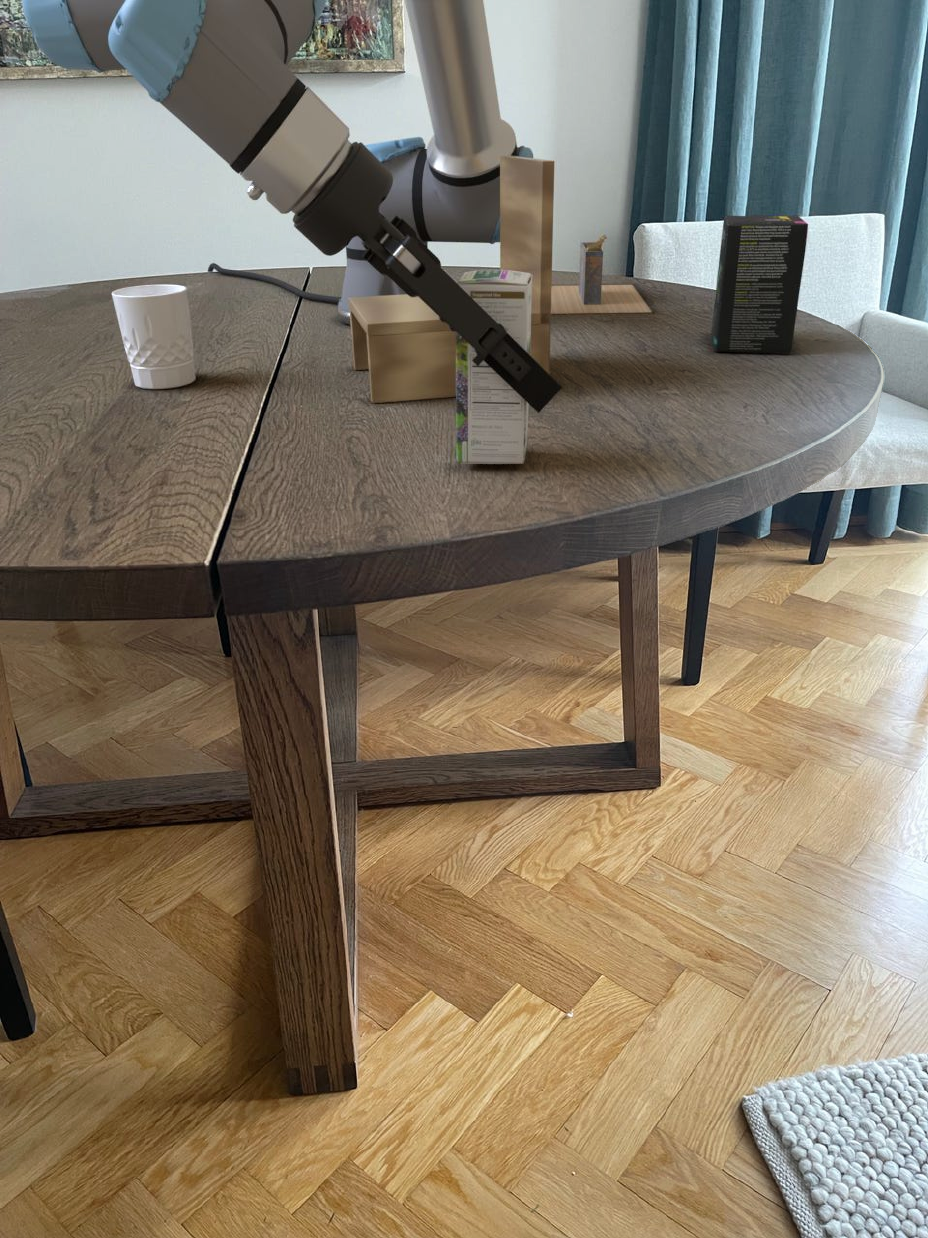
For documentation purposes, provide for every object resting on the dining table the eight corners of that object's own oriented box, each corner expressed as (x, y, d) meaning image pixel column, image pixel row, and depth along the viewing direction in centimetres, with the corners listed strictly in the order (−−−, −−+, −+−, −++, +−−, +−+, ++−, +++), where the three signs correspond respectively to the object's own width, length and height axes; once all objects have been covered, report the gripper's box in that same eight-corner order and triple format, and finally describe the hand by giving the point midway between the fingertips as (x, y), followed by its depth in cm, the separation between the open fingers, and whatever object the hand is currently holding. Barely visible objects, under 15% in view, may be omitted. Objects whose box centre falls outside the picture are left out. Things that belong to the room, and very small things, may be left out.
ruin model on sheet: (652, 312, 136) (657, 241, 132) (540, 313, 137) (541, 243, 133) (632, 284, 158) (636, 222, 154) (536, 286, 159) (537, 224, 155)
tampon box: (792, 355, 111) (812, 222, 104) (713, 353, 113) (726, 222, 106) (783, 336, 120) (801, 213, 113) (710, 334, 122) (723, 213, 115)
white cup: (214, 375, 108) (201, 285, 103) (174, 393, 101) (158, 297, 96) (156, 371, 110) (141, 283, 105) (114, 388, 103) (95, 294, 99)
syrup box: (463, 442, 82) (459, 269, 75) (530, 443, 81) (532, 268, 74) (456, 464, 77) (451, 280, 70) (527, 465, 76) (529, 280, 69)
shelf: (372, 403, 96) (356, 167, 85) (353, 368, 110) (338, 160, 99) (549, 389, 100) (554, 160, 89) (509, 356, 113) (510, 155, 103)
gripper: (280, 208, 76) (476, 390, 87) (297, 235, 59) (538, 458, 70) (339, 133, 74) (532, 328, 85) (374, 138, 57) (609, 382, 68)
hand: (534, 386), depth 77 cm, fingers closed on syrup box, 7 cm apart
